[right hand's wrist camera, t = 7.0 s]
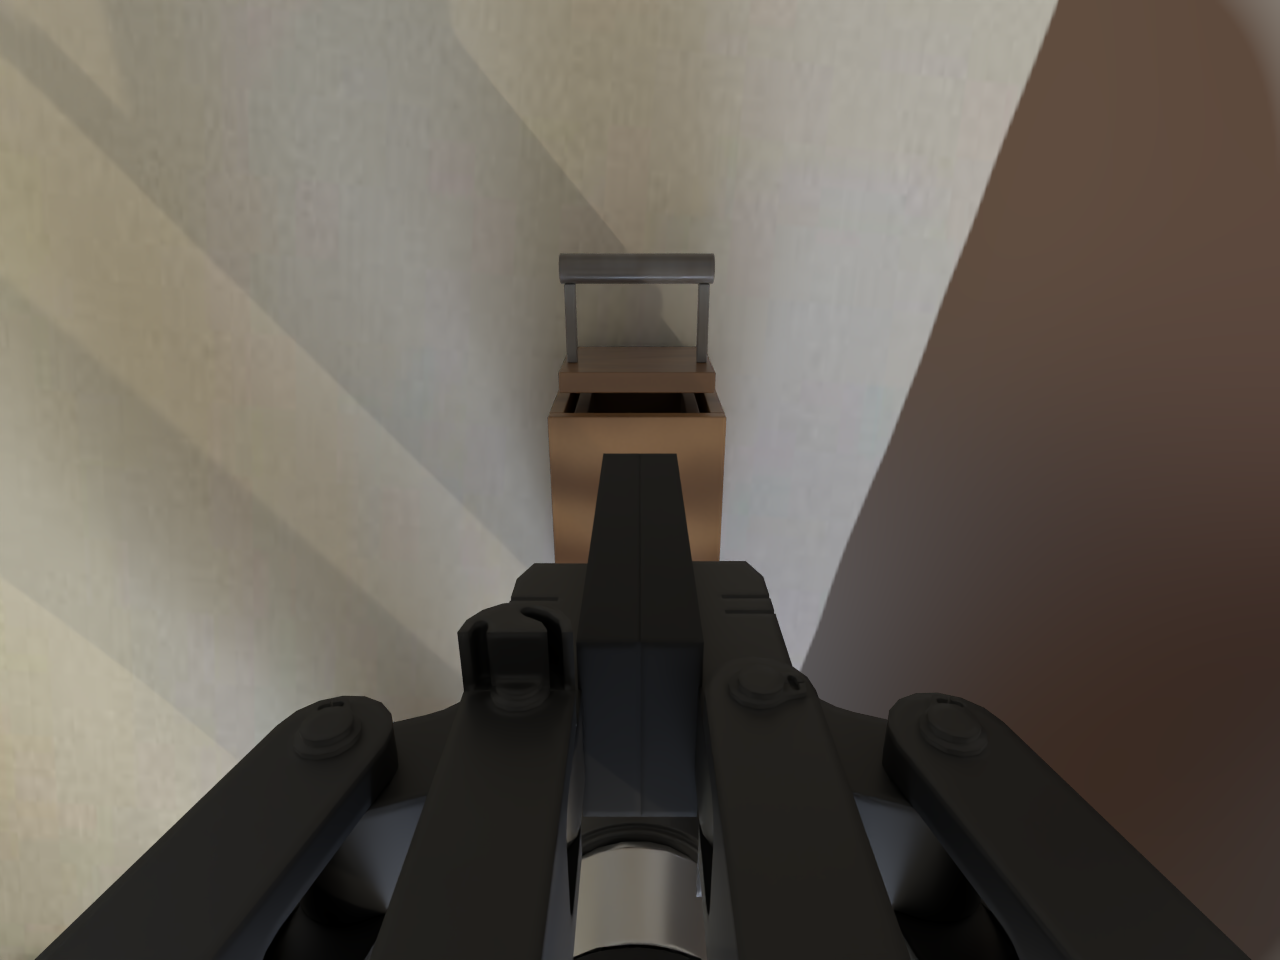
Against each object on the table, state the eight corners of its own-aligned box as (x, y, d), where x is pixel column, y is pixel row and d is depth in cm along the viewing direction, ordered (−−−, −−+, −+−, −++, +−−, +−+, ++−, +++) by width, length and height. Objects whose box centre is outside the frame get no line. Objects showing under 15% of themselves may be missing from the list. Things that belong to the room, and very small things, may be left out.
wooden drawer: (566, 247, 43) (553, 257, 37) (707, 247, 43) (720, 257, 37) (578, 581, 52) (569, 638, 46) (696, 581, 52) (704, 637, 46)
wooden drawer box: (563, 377, 47) (547, 416, 39) (710, 377, 47) (726, 416, 39) (573, 614, 54) (561, 690, 46) (701, 613, 54) (713, 690, 46)
